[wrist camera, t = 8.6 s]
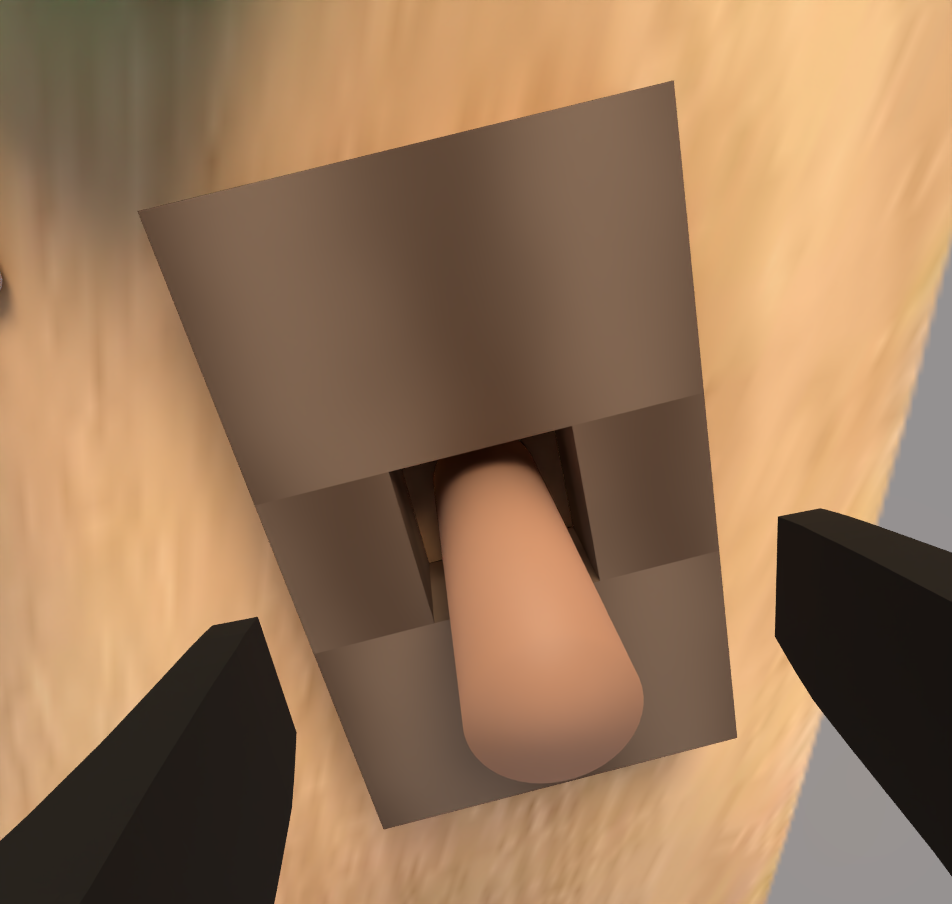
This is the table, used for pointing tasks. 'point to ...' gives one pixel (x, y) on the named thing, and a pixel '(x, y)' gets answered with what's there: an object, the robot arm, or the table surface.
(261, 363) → the hole block
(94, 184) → the table surface
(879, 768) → the robot arm
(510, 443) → the peg
